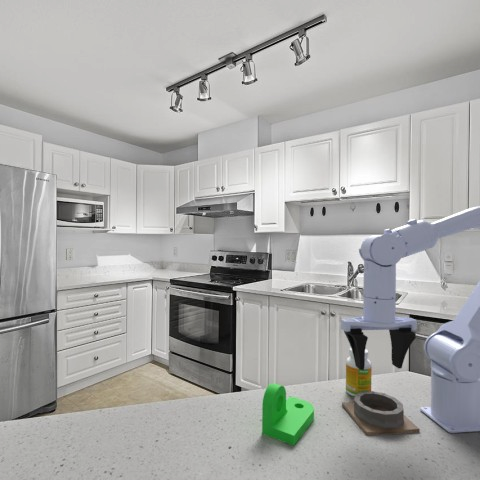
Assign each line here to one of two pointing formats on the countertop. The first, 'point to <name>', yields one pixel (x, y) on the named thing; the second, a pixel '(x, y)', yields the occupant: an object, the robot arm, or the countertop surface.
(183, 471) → the countertop surface
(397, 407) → the collar holder
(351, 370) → the supplement bottle
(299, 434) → the mechanical part
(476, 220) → the robot arm
